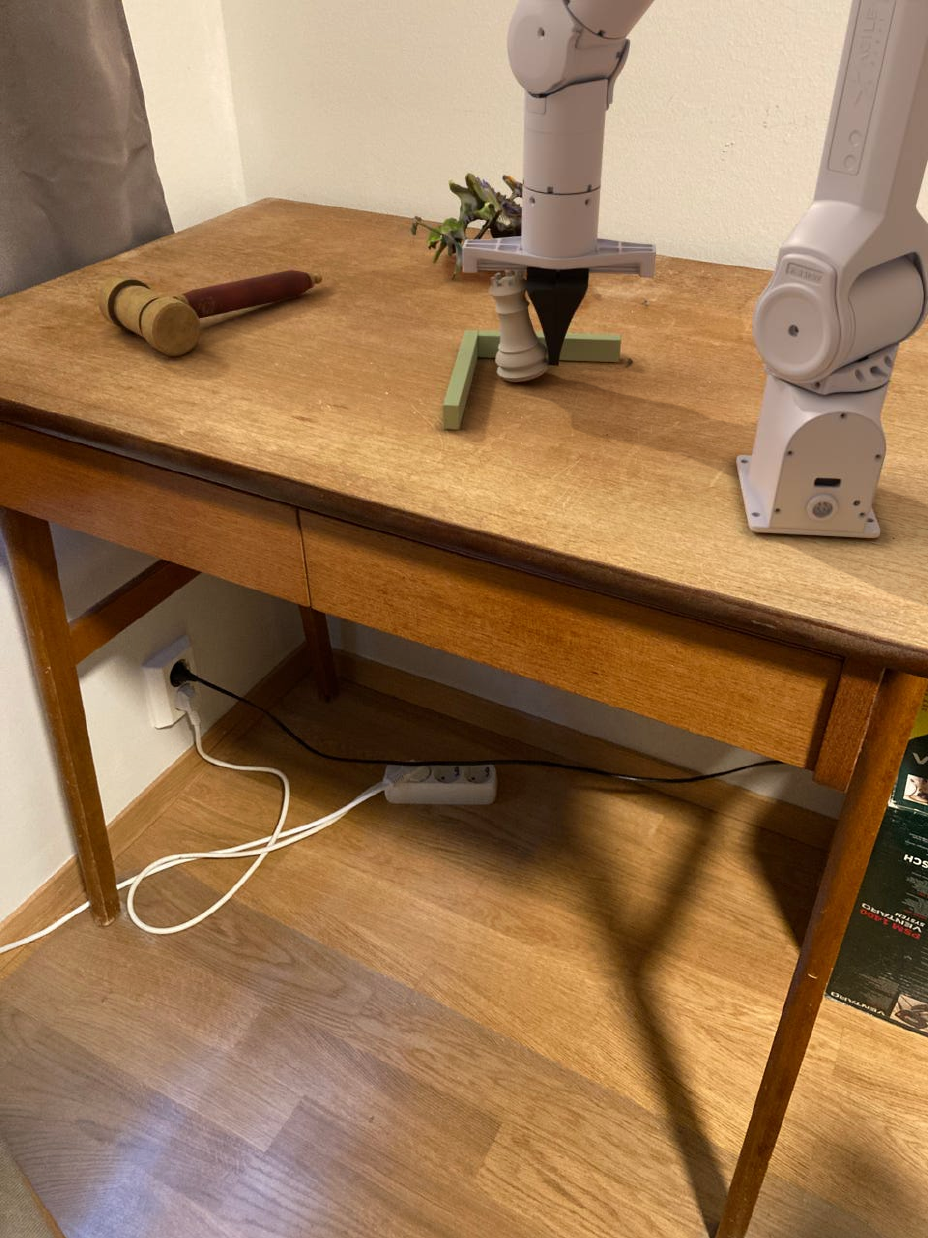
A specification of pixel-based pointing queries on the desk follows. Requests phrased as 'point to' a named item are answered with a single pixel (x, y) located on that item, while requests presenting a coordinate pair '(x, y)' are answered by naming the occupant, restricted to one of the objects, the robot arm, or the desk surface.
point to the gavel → (191, 305)
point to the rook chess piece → (516, 331)
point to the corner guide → (487, 347)
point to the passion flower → (476, 216)
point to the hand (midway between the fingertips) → (553, 360)
